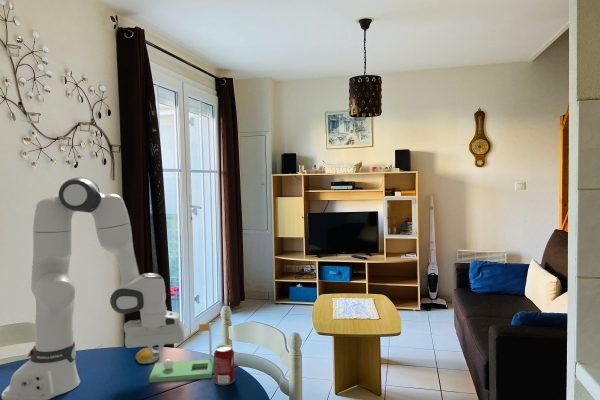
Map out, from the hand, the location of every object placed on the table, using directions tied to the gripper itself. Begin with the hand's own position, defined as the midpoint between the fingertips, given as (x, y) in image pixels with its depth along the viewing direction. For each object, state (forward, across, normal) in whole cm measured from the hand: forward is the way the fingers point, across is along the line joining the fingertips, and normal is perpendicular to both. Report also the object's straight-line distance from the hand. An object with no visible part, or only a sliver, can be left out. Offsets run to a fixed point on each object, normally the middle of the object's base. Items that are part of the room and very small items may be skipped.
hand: (156, 356), depth 154 cm
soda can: (+7, +24, -11) cm, 27 cm away
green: (+7, +9, 0) cm, 11 cm away
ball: (+5, +4, 0) cm, 6 cm away
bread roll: (+7, -6, +14) cm, 17 cm away
